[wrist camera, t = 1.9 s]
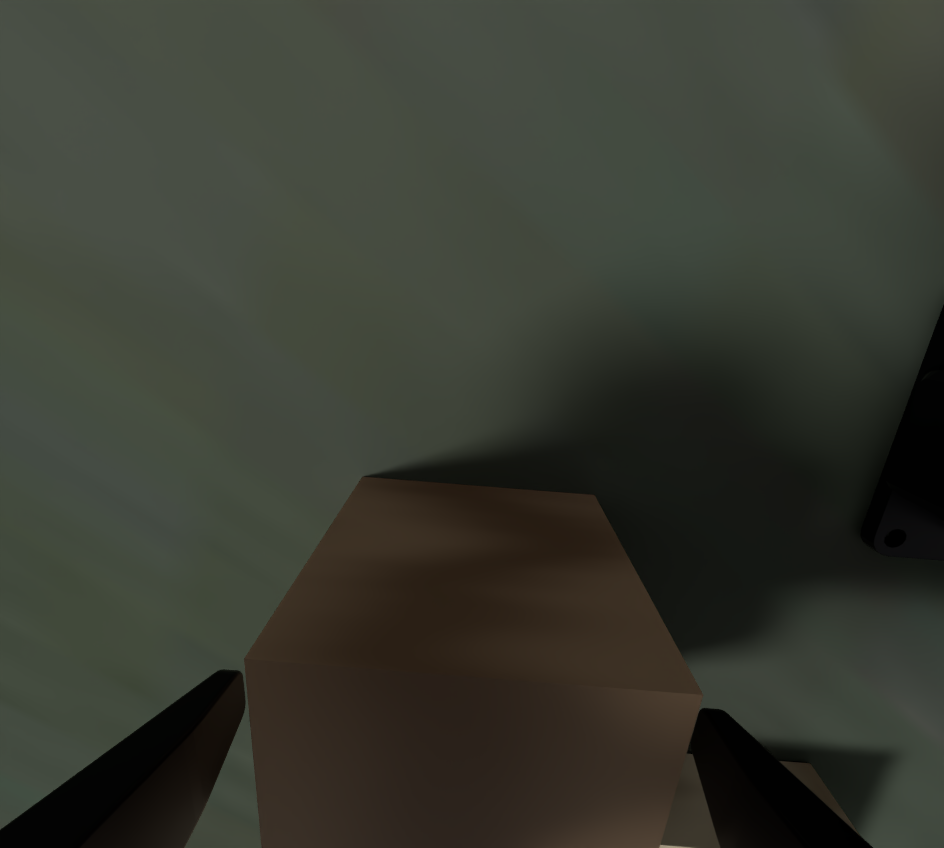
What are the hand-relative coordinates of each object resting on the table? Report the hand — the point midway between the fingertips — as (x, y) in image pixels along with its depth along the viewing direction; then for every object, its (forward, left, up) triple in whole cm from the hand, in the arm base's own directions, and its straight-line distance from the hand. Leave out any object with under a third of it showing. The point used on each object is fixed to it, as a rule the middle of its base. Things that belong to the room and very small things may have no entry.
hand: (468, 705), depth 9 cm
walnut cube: (0, 0, -4) cm, 4 cm away
